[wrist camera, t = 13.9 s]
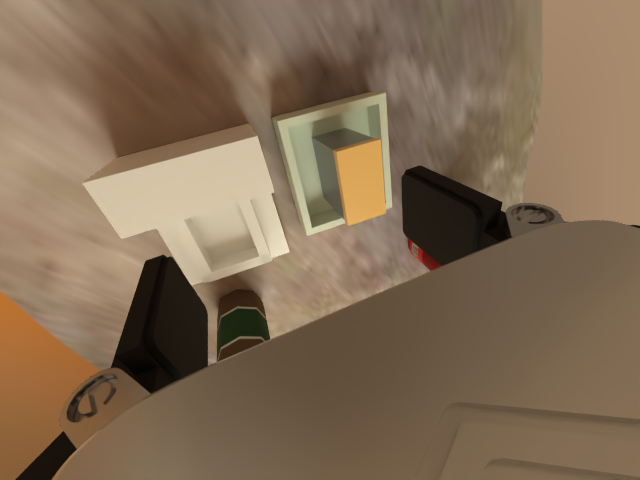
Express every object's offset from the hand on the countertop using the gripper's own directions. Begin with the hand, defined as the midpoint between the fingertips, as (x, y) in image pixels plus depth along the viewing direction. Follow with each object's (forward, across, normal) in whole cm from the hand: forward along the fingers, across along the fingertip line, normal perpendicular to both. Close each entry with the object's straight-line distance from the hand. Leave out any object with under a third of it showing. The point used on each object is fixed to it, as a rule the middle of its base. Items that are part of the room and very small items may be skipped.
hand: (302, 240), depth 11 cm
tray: (+29, -11, +8) cm, 32 cm away
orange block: (+28, -11, +8) cm, 31 cm away
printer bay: (+29, +7, +10) cm, 32 cm away
